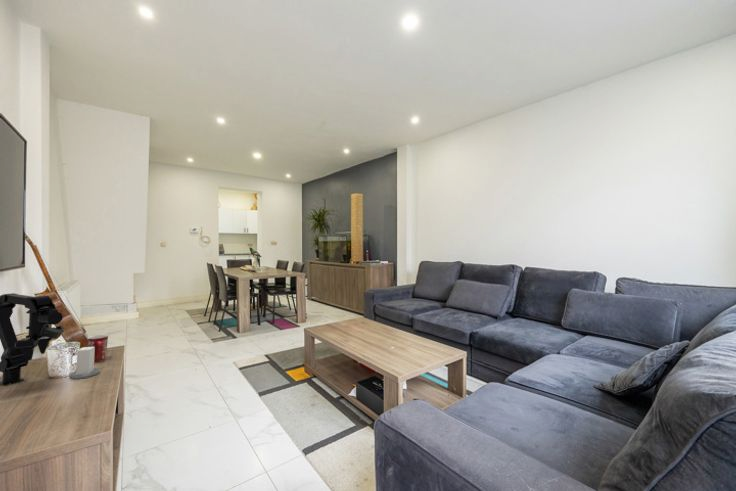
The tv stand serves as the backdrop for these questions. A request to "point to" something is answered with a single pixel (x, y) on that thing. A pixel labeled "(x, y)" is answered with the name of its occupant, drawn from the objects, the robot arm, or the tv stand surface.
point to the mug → (98, 346)
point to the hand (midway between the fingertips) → (36, 356)
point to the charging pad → (82, 376)
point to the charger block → (85, 360)
